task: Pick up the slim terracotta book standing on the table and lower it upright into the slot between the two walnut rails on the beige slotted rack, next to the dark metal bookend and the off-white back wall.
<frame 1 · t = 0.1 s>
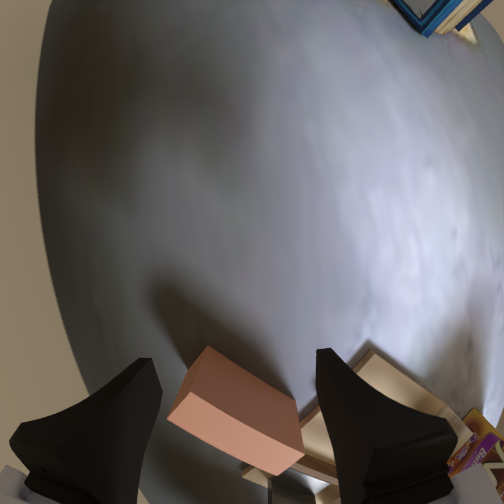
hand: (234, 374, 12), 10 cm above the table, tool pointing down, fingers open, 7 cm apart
slim book: (242, 386, 24), on the table
candy box: (451, 437, 25), on the table
bookend: (291, 480, 25), resting on beige slotted rack
beige slotted rack: (349, 444, 24), on the table
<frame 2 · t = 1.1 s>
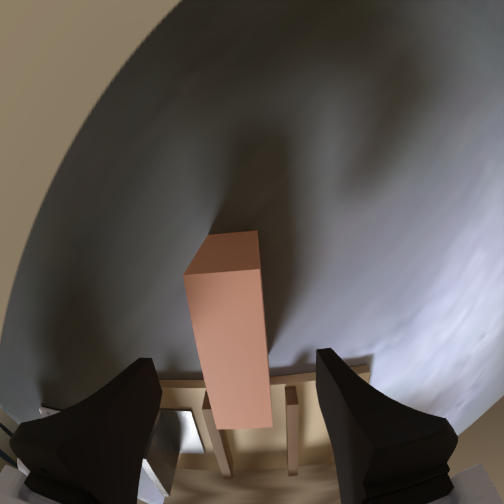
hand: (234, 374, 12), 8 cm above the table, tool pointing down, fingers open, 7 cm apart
slim book: (240, 300, 20), on the table
bookend: (170, 423, 23), resting on beige slotted rack
beige slotted rack: (256, 431, 23), on the table
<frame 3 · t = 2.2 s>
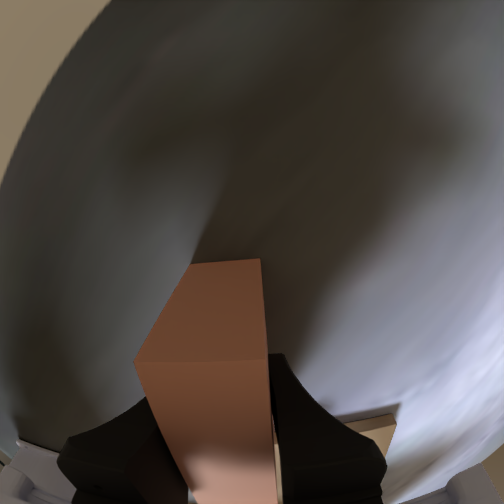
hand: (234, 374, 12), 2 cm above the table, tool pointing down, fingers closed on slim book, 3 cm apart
slim book: (236, 349, 14), on the table, touching gripper
beige slotted rack: (257, 482, 18), on the table
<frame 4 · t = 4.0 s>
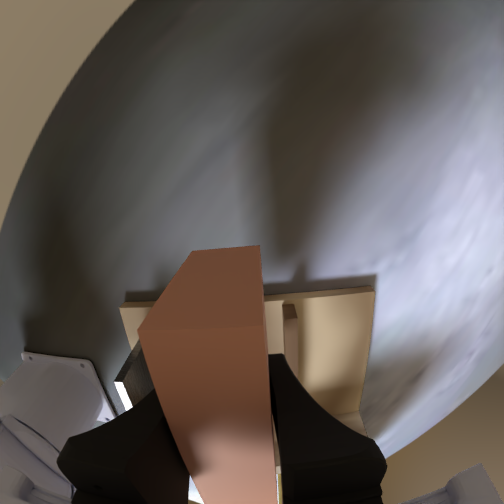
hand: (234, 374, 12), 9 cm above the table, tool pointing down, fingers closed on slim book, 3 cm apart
slim book: (236, 336, 15), point 6 cm above the table, touching gripper
bookend: (157, 360, 23), resting on beige slotted rack
beige slotted rack: (251, 370, 23), on the table
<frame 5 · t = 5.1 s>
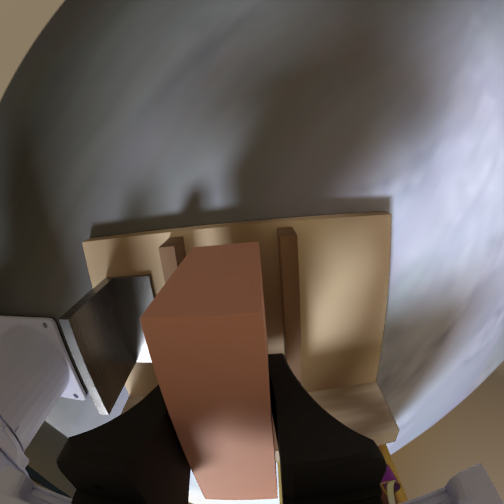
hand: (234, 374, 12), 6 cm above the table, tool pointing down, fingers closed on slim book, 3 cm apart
slim book: (236, 332, 15), point 4 cm above the table, touching gripper
candy box: (326, 439, 22), on the table
bookend: (127, 313, 19), resting on beige slotted rack
beige slotted rack: (241, 325, 19), on the table
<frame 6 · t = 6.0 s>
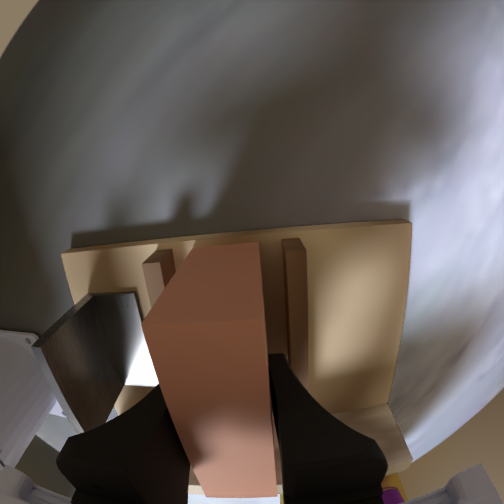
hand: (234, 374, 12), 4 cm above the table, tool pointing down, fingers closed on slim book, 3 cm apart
slim book: (236, 331, 15), point 1 cm above the table, touching gripper, beige slotted rack
candy box: (331, 460, 20), on the table
bookend: (113, 332, 16), resting on beige slotted rack
beige slotted rack: (240, 347, 16), on the table
when the fingers open (4 cm above the table, at t = 6.0 s): slim book stays where it is, resting on beige slotted rack.
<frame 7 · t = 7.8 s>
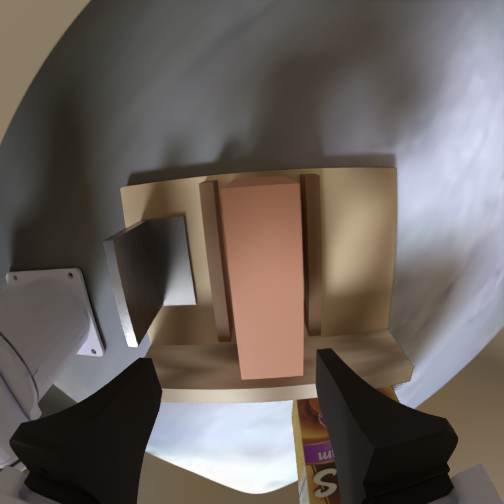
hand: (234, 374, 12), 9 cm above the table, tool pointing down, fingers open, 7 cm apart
slim book: (263, 248, 19), point 1 cm above the table, touching beige slotted rack
candy box: (339, 397, 25), on the table
bookend: (156, 258, 21), resting on beige slotted rack
beige slotted rack: (265, 268, 21), on the table
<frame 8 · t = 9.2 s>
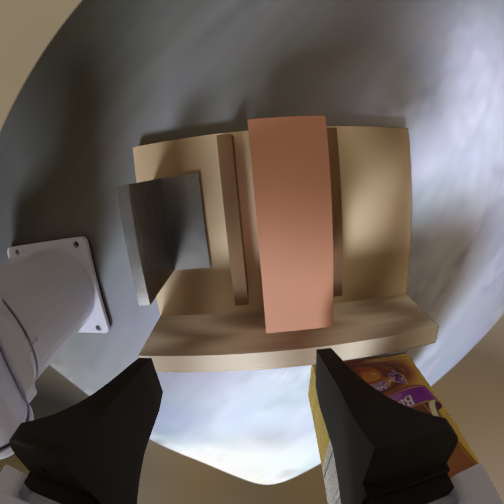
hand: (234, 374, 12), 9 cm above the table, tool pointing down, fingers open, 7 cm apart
slim book: (281, 206, 19), point 1 cm above the table, touching beige slotted rack
candy box: (357, 372, 24), on the table
bookend: (168, 221, 20), resting on beige slotted rack
beige slotted rack: (281, 229, 20), on the table
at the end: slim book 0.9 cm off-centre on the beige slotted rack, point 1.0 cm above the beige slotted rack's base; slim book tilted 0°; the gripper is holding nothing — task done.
